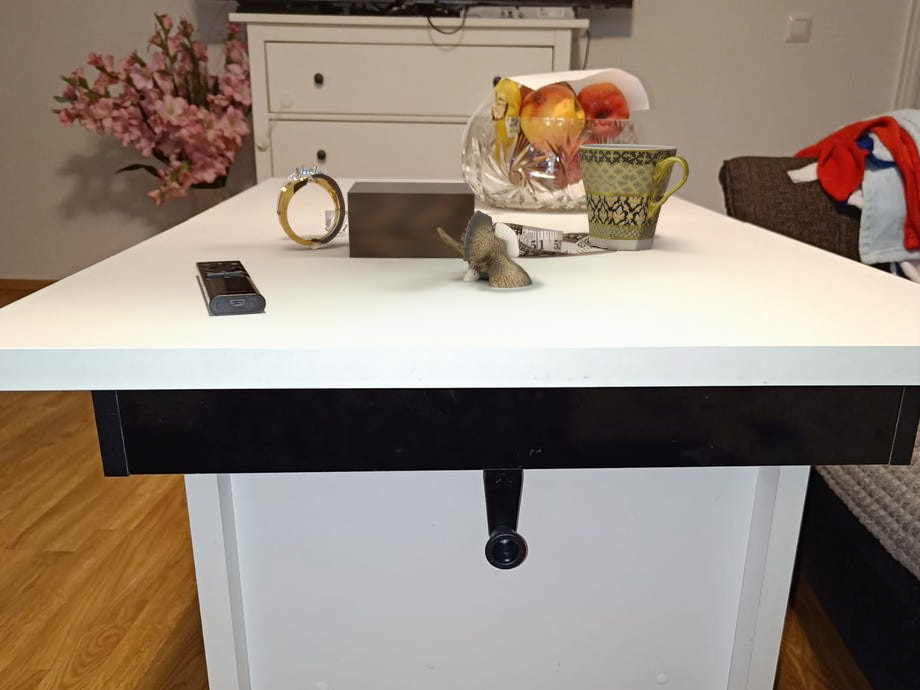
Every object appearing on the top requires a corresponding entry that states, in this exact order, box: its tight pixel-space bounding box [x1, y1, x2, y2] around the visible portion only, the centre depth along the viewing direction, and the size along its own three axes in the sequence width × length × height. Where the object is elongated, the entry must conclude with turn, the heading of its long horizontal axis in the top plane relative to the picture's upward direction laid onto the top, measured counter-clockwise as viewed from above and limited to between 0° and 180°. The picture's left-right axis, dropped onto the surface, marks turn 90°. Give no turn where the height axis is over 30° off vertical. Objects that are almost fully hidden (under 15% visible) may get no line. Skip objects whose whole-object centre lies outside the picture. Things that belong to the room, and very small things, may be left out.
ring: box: [276, 164, 346, 250], centre depth 93 cm, size 7×3×8 cm, turn 119°
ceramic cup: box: [578, 143, 690, 251], centre depth 96 cm, size 13×10×10 cm
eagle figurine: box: [437, 209, 533, 289], centre depth 72 cm, size 8×7×9 cm
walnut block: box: [346, 181, 476, 259], centre depth 94 cm, size 12×12×6 cm
